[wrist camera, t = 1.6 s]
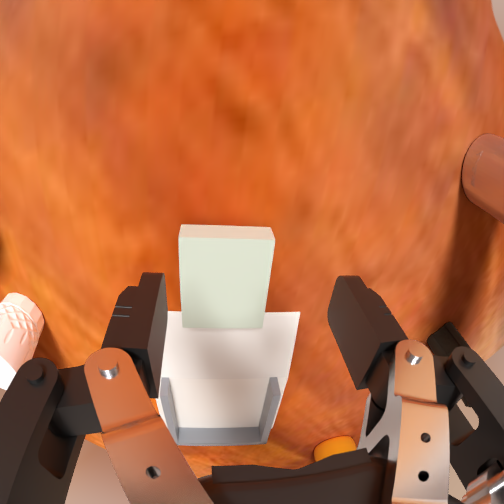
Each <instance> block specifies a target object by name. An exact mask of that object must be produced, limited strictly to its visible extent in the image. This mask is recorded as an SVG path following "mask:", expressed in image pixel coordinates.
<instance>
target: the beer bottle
mask: <svg viewBox="0 0 504 504" xmlns="http://www.w3.org/2000/svg"><path fill="white" fill-rule="evenodd" d="M356 449H357V448H356V445H355V442H354V440H353V439H352V438H351V437H349V436H339V437H334V438H331V439H328V440H326V441H324V442H322V443H320V444H319V445H317V446H316V447H315V449H314V457H315V460H316V462H317V461H319V460H322V459H324V458H326V457H329V456H331V455H334V454H339V453H344V452H349V451H354V450H356Z"/></svg>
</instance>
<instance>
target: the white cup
mask: <svg viewBox="0 0 504 504" xmlns="http://www.w3.org/2000/svg"><path fill="white" fill-rule="evenodd" d="M43 327H44V318H43V315H42V312H41V311H40V310H39V308H38V307H37V305H36V304H35V303H34V302H33V301H31V300H30V299H29V298H28V297H26V296H24V295H22V294H19V293H9V294H8V295H7V296H6V297H5V298H4V299H3V300H2V301H1V303H0V388H2V389H5V390H7V389H8V387H9V385H10V383H11V381H12V380H13V378H14V376H15V374H16V373H17V371H18V369H19V368H20V367H21V366H22V365H23V364H24V363H25V362H27V361H28V360H31V359H32V357H33V354H34V351H35V349H36V346H37V344H38V339H39V337H40V335H41V333H42V330H43Z"/></svg>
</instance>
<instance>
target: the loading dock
mask: <svg viewBox="0 0 504 504" xmlns="http://www.w3.org/2000/svg"><path fill="white" fill-rule="evenodd" d="M299 316H300V312H265V314H264V320H263V327H262V328H183V327H182V312H180V311H168V321H167V330H166V337H165V345H164V353H163V361H162V369H161V378H160V388H159V397H158V399H157V398H156V402H157V406H158V409H159V413H160V416H161V417H162V419H163V421H164V422H165V424H166V426H167V428H168V430H169V432H170V433H171V435H172V437H173V439H174V441H175V442H176V444H177V445H187V446H235V445H256V444H266V443H267V439H268V436H269V433H270V430H271V428H273V425H274V422H275V419H276V416H277V412H278V409H279V406H280V403H281V399H282V396H283V393H284V389H285V386H286V382H287V379H288V375H289V370H290V365H291V360H292V355H293V350H294V344H295V339H296V333H297V328H298V322H299Z"/></svg>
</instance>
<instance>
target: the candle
mask: <svg viewBox="0 0 504 504" xmlns="http://www.w3.org/2000/svg"><path fill="white" fill-rule="evenodd" d="M427 343H428V345H429V347H430V349H431V350H432V352H433V354H434V355H435V356H443V357H449V356H450V355H451V353H452V352H453V350H454V349H455V348H456V347H460V346H463V347H467V348H470V347H469V345H468V344H467V343H466V341H465V340H464V338H463V337H462V336H461V334H460V333H459V332H458V331H457V329H456V328H455V327H454V325H453V324H452V323H451V322H448V323H446V324H445V325H444V326H443V327H442V328H440V329H439V330H438V331H437V332H435V333H434V334H432V335H431V336H430V337H429V338H428V340H427ZM470 349H471V348H470ZM461 399H462V401H463V402H464V404H465V406H468V407H471V405H470V404H469V403H468V401H467V400H466V398H465V397H464V396H462V398H461Z"/></svg>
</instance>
